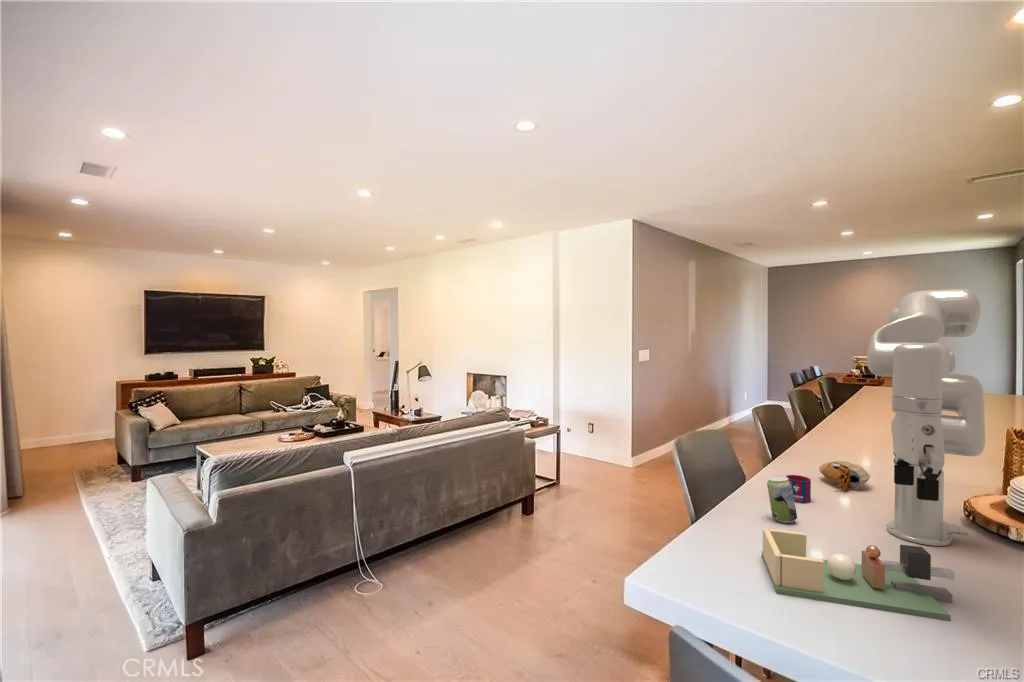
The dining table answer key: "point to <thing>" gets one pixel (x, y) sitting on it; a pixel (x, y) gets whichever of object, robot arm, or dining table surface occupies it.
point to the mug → (800, 488)
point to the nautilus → (845, 474)
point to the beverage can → (781, 499)
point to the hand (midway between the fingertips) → (915, 491)
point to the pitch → (816, 582)
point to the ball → (841, 566)
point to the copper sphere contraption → (900, 565)
